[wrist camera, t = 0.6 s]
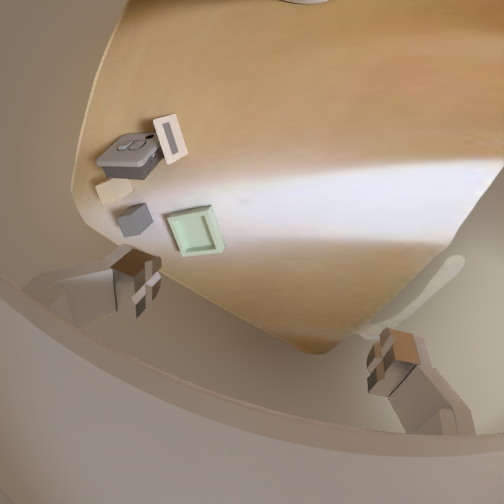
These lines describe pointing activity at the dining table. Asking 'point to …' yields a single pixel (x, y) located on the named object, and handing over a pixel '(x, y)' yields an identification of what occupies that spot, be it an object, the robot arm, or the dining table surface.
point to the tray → (197, 231)
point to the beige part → (112, 190)
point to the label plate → (170, 138)
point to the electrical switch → (131, 156)
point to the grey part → (134, 220)
